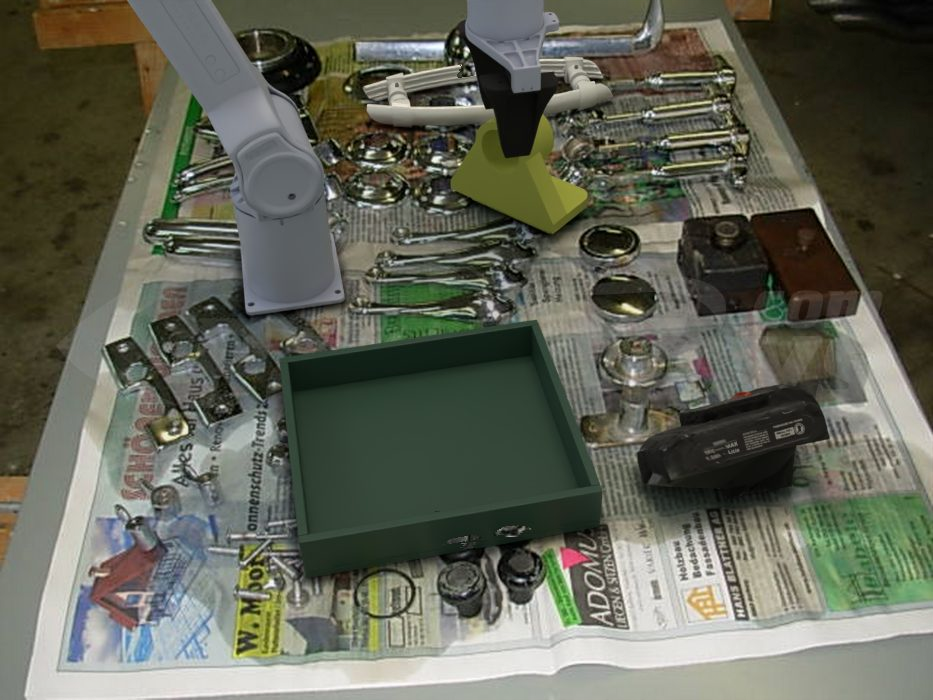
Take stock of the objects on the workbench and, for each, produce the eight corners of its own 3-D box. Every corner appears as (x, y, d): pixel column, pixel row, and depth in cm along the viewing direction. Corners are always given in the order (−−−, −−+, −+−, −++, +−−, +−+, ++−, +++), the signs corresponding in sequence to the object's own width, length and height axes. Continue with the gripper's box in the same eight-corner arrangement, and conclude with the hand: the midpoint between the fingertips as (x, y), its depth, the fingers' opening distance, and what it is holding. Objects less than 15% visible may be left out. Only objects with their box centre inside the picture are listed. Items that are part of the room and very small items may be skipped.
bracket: (592, 214, 99) (598, 114, 92) (552, 246, 95) (555, 145, 89) (492, 172, 104) (491, 75, 97) (451, 201, 101) (447, 103, 94)
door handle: (362, 92, 116) (595, 68, 119) (370, 141, 109) (619, 114, 111) (360, 69, 114) (596, 45, 117) (368, 117, 107) (620, 90, 110)
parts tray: (285, 393, 83) (278, 357, 80) (536, 354, 85) (537, 318, 83) (306, 578, 70) (299, 543, 68) (600, 527, 72) (603, 491, 70)
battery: (810, 479, 77) (776, 384, 78) (859, 469, 69) (820, 363, 70) (649, 529, 76) (617, 431, 77) (680, 525, 68) (644, 416, 69)
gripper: (585, 2, 76) (577, 171, 85) (535, -77, 86) (534, 81, 96) (483, 13, 75) (487, 183, 84) (446, -68, 86) (453, 90, 95)
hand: (506, 129), depth 90 cm, fingers open, 7 cm apart
